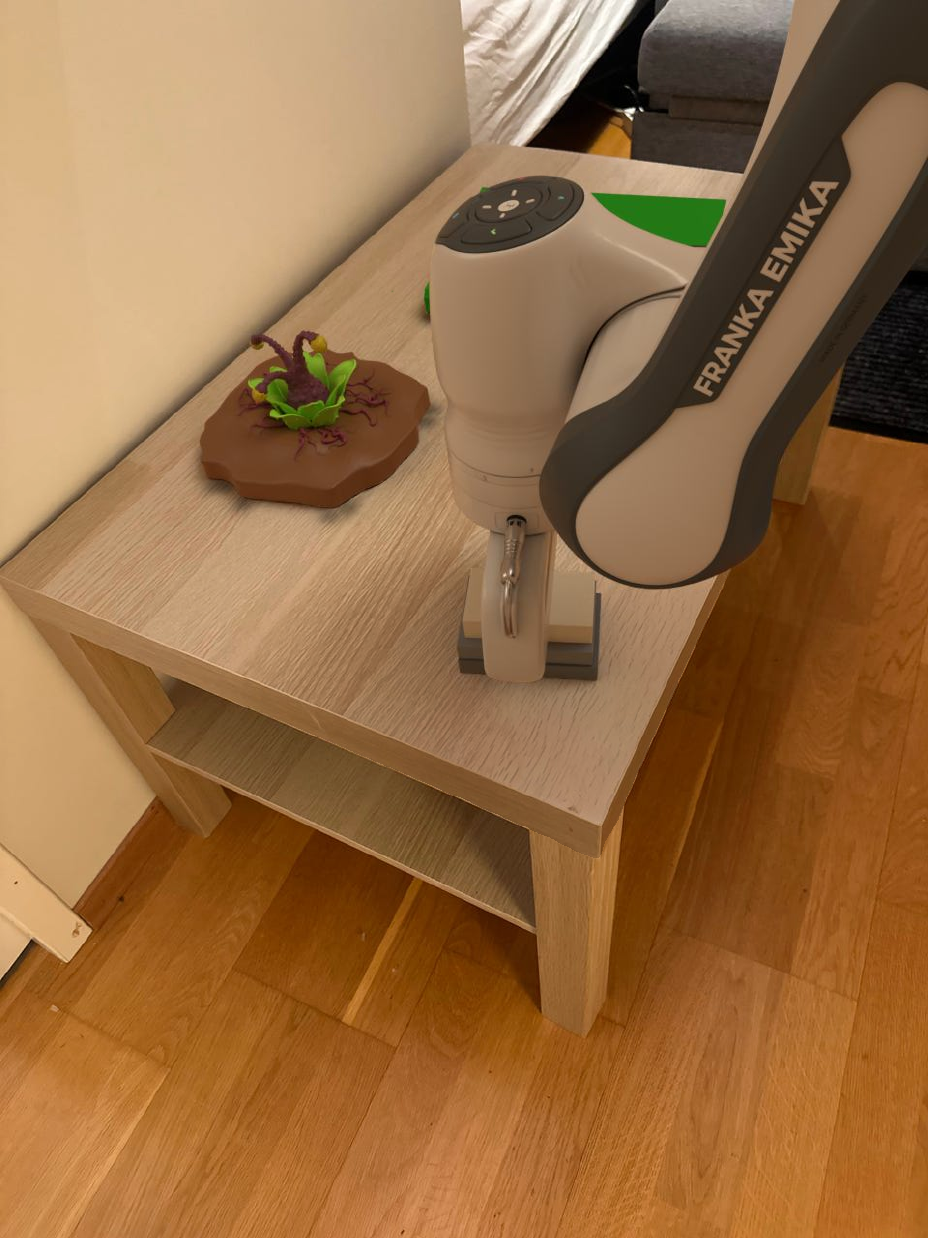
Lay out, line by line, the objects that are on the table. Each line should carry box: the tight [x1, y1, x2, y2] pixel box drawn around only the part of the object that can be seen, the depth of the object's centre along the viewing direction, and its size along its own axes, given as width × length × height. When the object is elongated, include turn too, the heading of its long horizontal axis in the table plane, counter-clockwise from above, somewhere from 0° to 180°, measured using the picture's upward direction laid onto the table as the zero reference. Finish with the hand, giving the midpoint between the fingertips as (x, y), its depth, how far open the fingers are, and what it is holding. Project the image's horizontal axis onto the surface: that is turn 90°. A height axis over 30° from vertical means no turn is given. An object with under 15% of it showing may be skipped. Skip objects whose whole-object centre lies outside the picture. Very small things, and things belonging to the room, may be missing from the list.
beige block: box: [462, 567, 596, 644], centre depth 64 cm, size 9×5×2 cm, turn 83°
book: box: [423, 186, 727, 315], centre depth 97 cm, size 22×28×3 cm
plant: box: [199, 330, 431, 508], centre depth 80 cm, size 20×20×11 cm
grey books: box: [456, 574, 602, 681], centre depth 66 cm, size 10×7×3 cm
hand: (530, 609), depth 64 cm, fingers closed on beige block, 5 cm apart
